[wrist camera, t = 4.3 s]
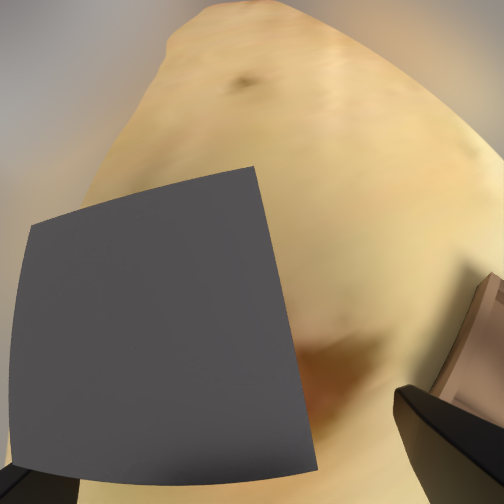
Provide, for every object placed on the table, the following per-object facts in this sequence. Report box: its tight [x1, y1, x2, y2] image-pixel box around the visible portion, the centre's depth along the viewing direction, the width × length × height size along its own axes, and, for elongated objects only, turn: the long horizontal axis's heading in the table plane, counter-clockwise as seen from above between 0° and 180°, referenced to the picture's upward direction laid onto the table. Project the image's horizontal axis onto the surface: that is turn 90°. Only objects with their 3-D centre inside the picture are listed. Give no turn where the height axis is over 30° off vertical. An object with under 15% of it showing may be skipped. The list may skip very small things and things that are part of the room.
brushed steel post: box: [9, 166, 318, 486], centre depth 10 cm, size 4×4×14 cm
